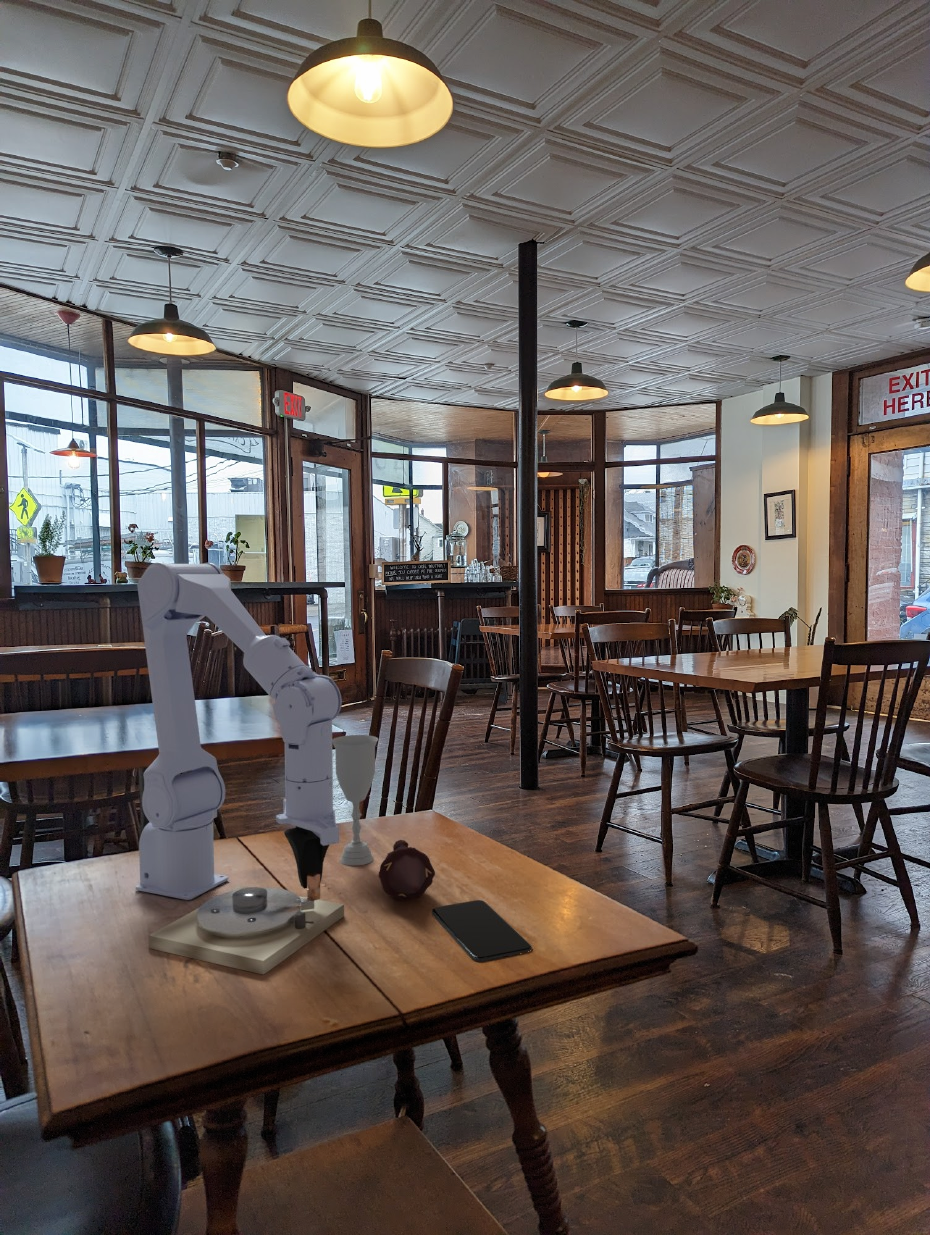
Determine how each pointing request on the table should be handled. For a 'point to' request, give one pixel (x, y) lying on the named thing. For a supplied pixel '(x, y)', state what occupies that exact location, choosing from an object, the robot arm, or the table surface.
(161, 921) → the table surface
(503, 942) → the smartphone
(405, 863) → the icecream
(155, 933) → the post base
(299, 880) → the robot arm
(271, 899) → the grey turntable
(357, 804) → the chalice
